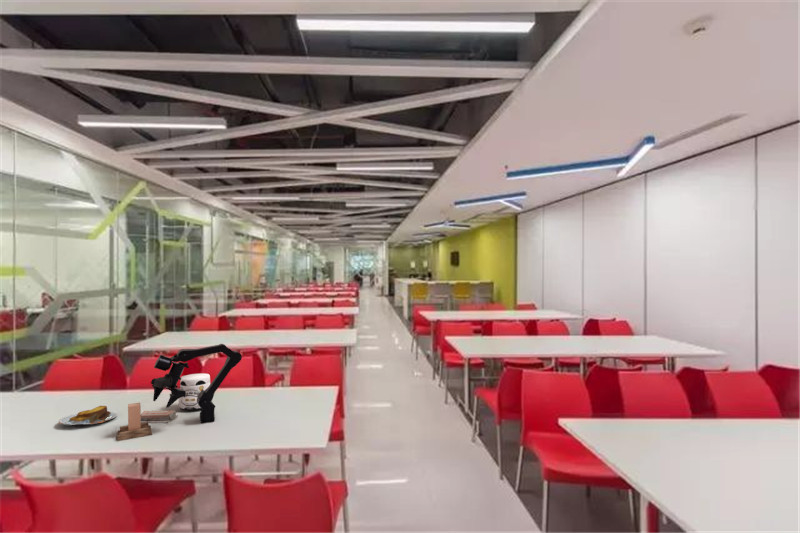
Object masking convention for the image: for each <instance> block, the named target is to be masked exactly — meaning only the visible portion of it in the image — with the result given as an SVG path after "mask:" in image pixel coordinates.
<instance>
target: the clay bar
mask: <svg viewBox="0 0 800 533" xmlns="http://www.w3.org/2000/svg"><path fill="white" fill-rule="evenodd" d="M141 412H142V411H141V402H134V403H129V404H127V422H128V423H127V424H128V425H127V426H128V431H130V430H136V429H141V414H142V413H141Z"/></svg>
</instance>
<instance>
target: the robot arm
mask: <svg viewBox="0 0 800 533" xmlns="http://www.w3.org/2000/svg"><path fill="white" fill-rule="evenodd" d="M218 353H222V354H223V355H226V359H225V362H224V364H223V365H222V367H221V369H220V370H219V372H218V373H217V374H216V375H215V377H214V378H213V379H212V381H211V382H210V386H209V387H208V388H207V389H206V390H205V391H204V390H203V389H202V390H201V392H200V394H199V395H197V397H198V398H197V403H198V405H199V406H200V407H201V408H202V409H200V412H199V422H200V424H204V423H205V424H206V423H211V422H212V423H213V422H215V421H216V419H215V418H216V417H215V414H216V413H215V409H216V408H215V407H216V405H215V403H214V402H213V398H214V396H215V394H216V391H218V389H219V387H220V386H221V385H222V383H223V381H224V380H225V379H226V377H227V376H228V374H230V372H231V370H232V369H233V368H235V367H236V366H237V365H238V364H239V363H240V362H241V361H242V358H243V356H242V353H240V351H237V350H232V349H230V348H229V347H228V346H227V345H225V344H224V343H220V344H214V345H211V346H210V345H209V346H205V347H198V348H181V349H179V350H178V351H177V353H176V354H174V355H173V356H171V357H169V356H165V355H163V354H160V355H159V356H158V358H157V360H155V363H154V365H153V369H157V370H161V371H164V372H166V371H168V370H169V372H168V373H166V374H164V376H160V377H157V378H152V380H151V381H150V384H151V387H152V388H153V398H152V399H153V400H152V401H153V402H156V401H157V399H158V398H159V396H160V395H161V393H162V392H163V390H164V389H166V390H169V391H170V393H169V399H168V401H167V404H166V407H165V408H166V409H167V408H169V407H171V406H172V405H174V403H175V402H176V401H177V400H179V398H182V397H184V396H185V394H186V391H185V390H182V389H180V388H178V386H179V385H178V382H179V381H180V380H181V377H182V374H183V372H184V369H185V368H186V369H189V368H190V366H189V363H188V361H191V360H193V359H196V358H199V357H205V356H209V355H213V354H218Z"/></svg>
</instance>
